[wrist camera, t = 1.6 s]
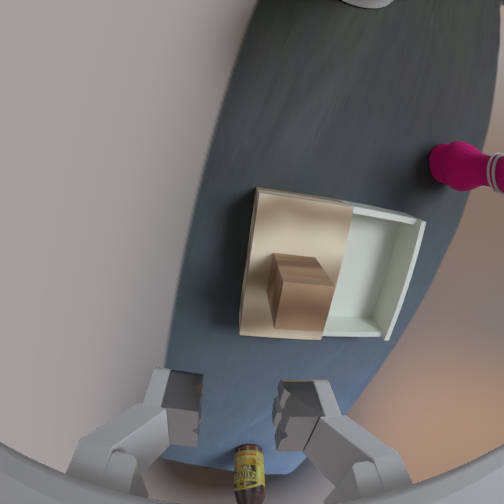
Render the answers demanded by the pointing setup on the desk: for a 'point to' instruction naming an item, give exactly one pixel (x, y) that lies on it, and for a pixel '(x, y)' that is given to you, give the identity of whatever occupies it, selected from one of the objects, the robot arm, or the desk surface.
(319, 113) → the desk surface
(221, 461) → the desk surface
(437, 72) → the desk surface
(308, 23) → the desk surface
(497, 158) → the pepper mill
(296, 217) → the beige box sleeve
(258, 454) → the sauce bottle
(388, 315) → the tray
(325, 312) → the walnut block
